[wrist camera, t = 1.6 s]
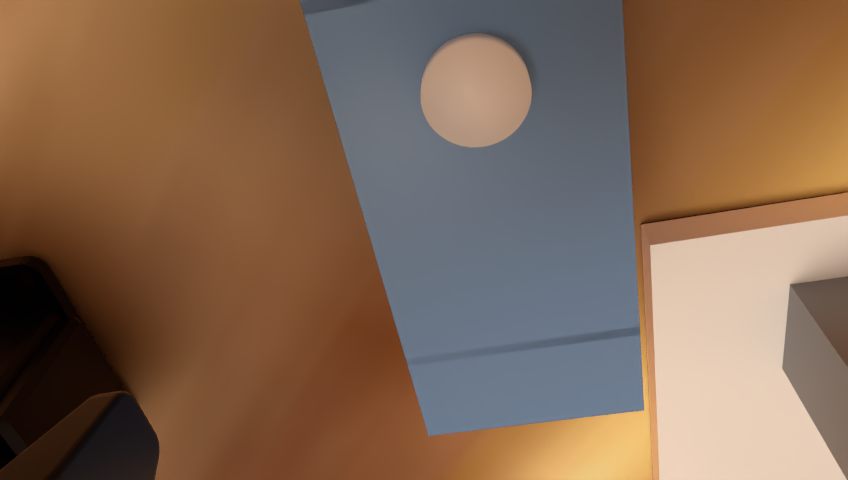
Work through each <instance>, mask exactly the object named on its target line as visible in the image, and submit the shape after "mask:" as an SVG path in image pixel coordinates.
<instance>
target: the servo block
mask: <svg viewBox="0 0 848 480" xmlns="http://www.w3.org/2000/svg"><path fill="white" fill-rule="evenodd" d="M300 4H301V7H302V10H303V14H304V17H305V20H306V24H307V27H308V31H309V34H310V37H311V41H312V44H313V47H314V51H315V54H316V58H317V61H318V64H319V68H320V71H321V74H322V78H323V81H324V85H325V88H326V91H327V95H328V98H329V101H330V105H331V108H332V112H333V115H334V118H335V122H336V125H337V128H338V132H339V135H340V139H341V142H342V145H343V149H344V152H345V155H346V159H347V162H348V166H349V169H350V172H351V176H352V179H353V182H354V186H355V189H356V192H357V196H358V199H359V203H360V206H361V209H362V213H363V216H364V219H365V223H366V226H367V230H368V233H369V236H370V240H371V243H372V246H373V250H374V253H375V257H376V260H377V263H378V267H379V270H380V273H381V277H382V280H383V284H384V287H385V290H386V294H387V297H388V300H389V304H390V307H391V311H392V314H393V317H394V321H395V324H396V327H397V331H398V334H399V338H400V341H401V344H402V348H403V351H404V354H405V358H406V361H407V365H408V368H409V371H410V375H411V378H412V381H413V385H414V388H415V392H416V395H417V398H418V402H419V405H420V408H421V412H422V415H423V419H424V422H425V425H426V429H427V432H428V435H429V436H432V435H441V434H449V433H457V432H466V431H474V430H482V429H491V428H499V427H507V426H516V425H524V424H533V423H541V422H549V421H558V420H566V419H574V418H583V417H591V416H599V415H608V414H616V413H625V412H633V411H641V410H644V400H643V381H642V362H641V343H640V324H639V305H638V286H637V268H636V249H635V230H634V211H633V192H632V173H631V154H630V136H629V117H628V98H627V79H626V60H625V41H624V22H623V4H622V0H300Z"/></svg>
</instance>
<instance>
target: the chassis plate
mask: <svg viewBox="0 0 848 480" xmlns="http://www.w3.org/2000/svg"><path fill="white" fill-rule="evenodd" d="M641 237H642V258H643V279H644V300H645V321H646V342H647V363H648V384H649V405H650V426H651V447H652V469H653V480H848V192H847V193H841V194H835V195H828V196H822V197H815V198H809V199H802V200H796V201H790V202H783V203H777V204H770V205H764V206H758V207H751V208H745V209H738V210H732V211H725V212H719V213H713V214H706V215H700V216H693V217H687V218H680V219H674V220H668V221H661V222H655V223H648V224H642V225H641Z"/></svg>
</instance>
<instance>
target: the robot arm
mask: <svg viewBox="0 0 848 480" xmlns="http://www.w3.org/2000/svg"><path fill="white" fill-rule="evenodd" d="M26 272H28V273H30V274H32V275H33V276H34V277H35V278H33V277H31V276H29V275H28V274H27V273H26ZM158 459H159V441H158V438H157V435H156V433H155V431H154V430H153V428H152V426H151V425H150V423H149V421H148V420H147V418H146V416H145V414H144V413H143V411H142V409H141V408H140V406H139V404H138V403H137V401H136V399H135V398H134V397H133V395H131V394H130V393H128V392H126V391H124V389H123V387H122V386H121V384H120V383H119V381H118V379H117V378H116V376H115V374H114V373H113V371H112V369H111V368H110V366H109V364H108V363H107V361H106V359H105V358H104V356H103V354H102V353H101V351H100V350H99V348H98V346H97V345H96V343H95V341H94V340H93V338H92V336H91V335H90V333H89V331H88V330H87V328H86V326H85V325H84V323H83V322H82V320H81V318H80V317H79V315H78V313H77V312H76V310H75V308H74V307H73V305H72V303H71V302H70V300H69V298H68V297H67V295H66V293H65V292H64V290H63V289H62V287H61V285H60V284H59V282H58V280H57V279H56V277H55V275H54V274H53V272H52V270H51V269H50V267H49V266H48V265H47V264H46V263H45V262H44V261H42V260H40V259H39V258H35V257H32V256H24V257H18V258H12V259H6V260H1V261H0V480H155V475H156V469H157V464H158Z"/></svg>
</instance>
